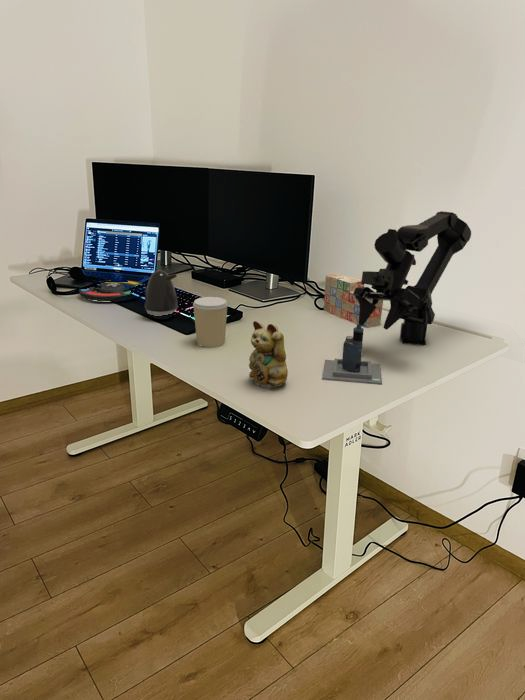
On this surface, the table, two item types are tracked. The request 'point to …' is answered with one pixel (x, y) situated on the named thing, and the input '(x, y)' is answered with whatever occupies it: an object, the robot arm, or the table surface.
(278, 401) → the table surface
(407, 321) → the robot arm
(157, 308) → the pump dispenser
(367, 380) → the dock
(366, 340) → the table surface
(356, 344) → the vaping device
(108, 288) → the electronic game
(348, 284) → the stack of blocks
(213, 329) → the coffee cup
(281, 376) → the decorative figurine
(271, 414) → the table surface
